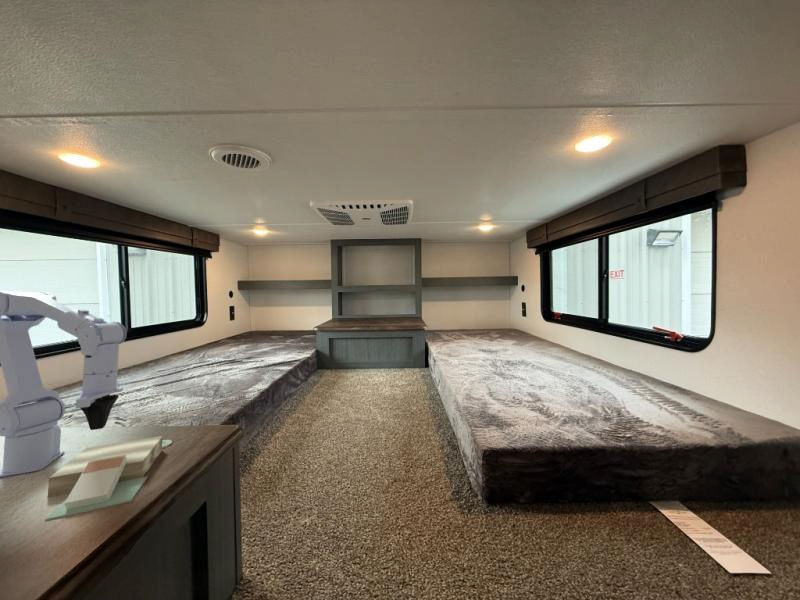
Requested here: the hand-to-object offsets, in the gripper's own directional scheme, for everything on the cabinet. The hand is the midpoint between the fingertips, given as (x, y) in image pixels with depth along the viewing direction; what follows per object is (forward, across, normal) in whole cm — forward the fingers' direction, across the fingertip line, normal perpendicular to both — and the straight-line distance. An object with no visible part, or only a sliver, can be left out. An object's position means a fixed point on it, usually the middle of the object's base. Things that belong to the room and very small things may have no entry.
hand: (97, 428), depth 66 cm
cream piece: (+10, -1, -4) cm, 11 cm away
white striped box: (+8, -11, -5) cm, 15 cm away
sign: (+11, +12, -14) cm, 22 cm away
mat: (+10, -13, -6) cm, 17 cm away
